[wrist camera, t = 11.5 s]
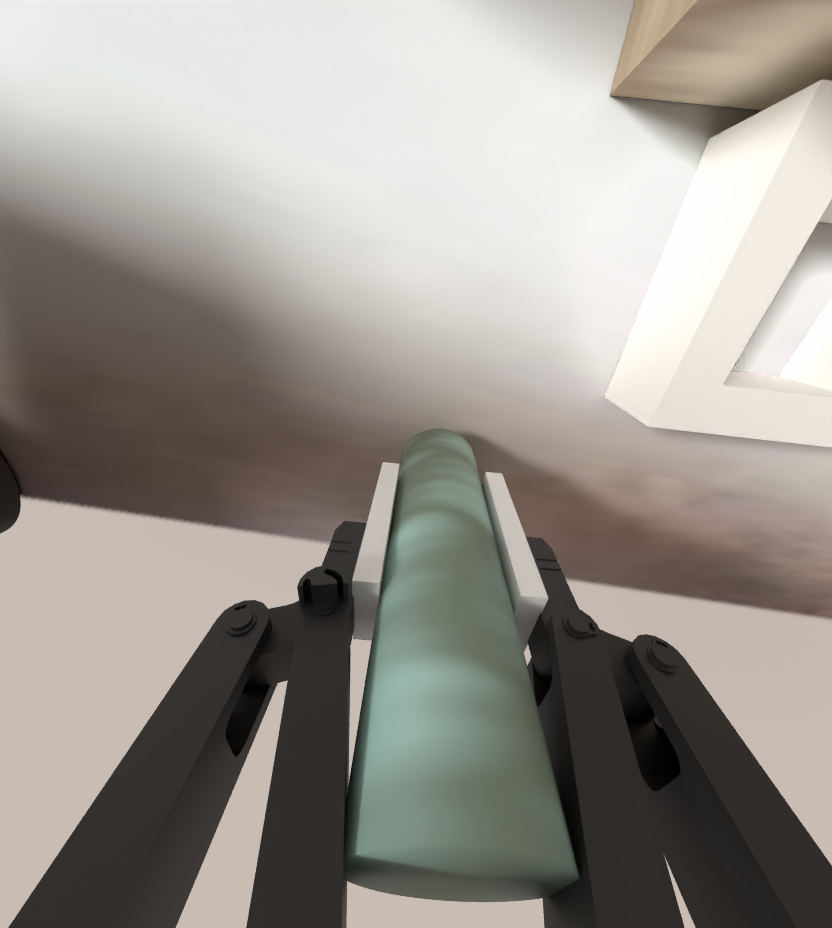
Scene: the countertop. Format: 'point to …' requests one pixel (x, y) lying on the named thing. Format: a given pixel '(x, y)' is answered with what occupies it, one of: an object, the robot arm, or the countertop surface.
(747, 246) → the socket block
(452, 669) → the dowel
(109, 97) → the countertop surface
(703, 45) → the wall
